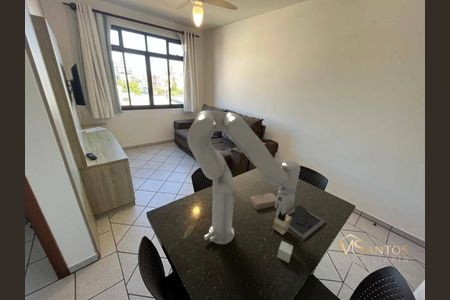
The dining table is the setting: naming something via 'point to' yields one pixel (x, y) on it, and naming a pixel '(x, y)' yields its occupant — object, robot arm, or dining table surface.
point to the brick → (263, 201)
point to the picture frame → (303, 222)
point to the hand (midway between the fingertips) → (281, 219)
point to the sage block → (285, 251)
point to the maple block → (281, 224)
